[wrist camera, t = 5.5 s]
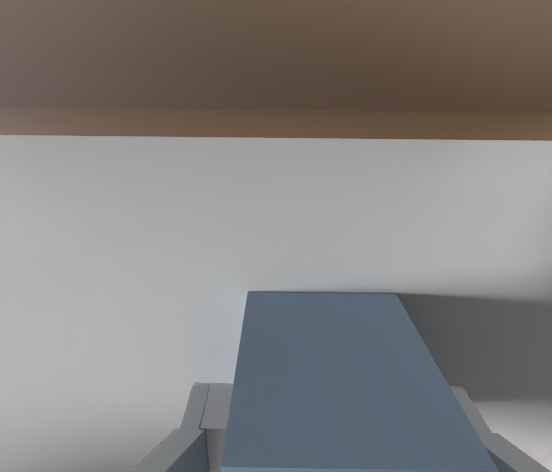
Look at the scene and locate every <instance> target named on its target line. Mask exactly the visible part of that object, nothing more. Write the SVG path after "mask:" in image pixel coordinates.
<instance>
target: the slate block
mask: <svg viewBox="0 0 552 472" xmlns="http://www.w3.org/2000/svg"><path fill="white" fill-rule="evenodd" d="M221 472H498V469H497V467H496V466H495V464H494V462H493V460H492V459H491V457H490V455H489V453H488V452H487V450H486V448H485V447H484V445H483V443H482V441H481V440H480V438H479V436H478V434H477V433H476V431H475V429H474V427H473V426H472V424H471V422H470V421H469V419H468V417H467V415H466V414H465V412H464V410H463V408H462V407H461V405H460V403H459V401H458V400H457V398H456V396H455V395H454V393H453V391H452V389H451V388H450V386H449V384H448V382H447V381H446V379H445V377H444V375H443V374H442V372H441V370H440V369H439V367H438V365H437V363H436V362H435V360H434V358H433V356H432V355H431V353H430V351H429V349H428V348H427V346H426V344H425V343H424V341H423V339H422V337H421V336H420V334H419V332H418V330H417V329H416V327H415V325H414V323H413V322H412V320H411V318H410V317H409V315H408V313H407V311H406V310H405V308H404V306H403V304H402V303H401V301H400V299H399V297H398V296H397V294H396V293H308V292H248V294H247V300H246V307H245V313H244V320H243V326H242V333H241V339H240V346H239V352H238V359H237V365H236V372H235V378H234V385H233V391H232V398H231V404H230V411H229V417H228V424H227V430H226V437H225V443H224V450H223V456H222V463H221Z"/></svg>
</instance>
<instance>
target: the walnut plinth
mask: <svg viewBox="0 0 552 472" xmlns="http://www.w3.org/2000/svg"><path fill="white" fill-rule="evenodd" d="M0 135H74V136H169V137H264V138H360V139H455V140H550V141H552V0H0Z"/></svg>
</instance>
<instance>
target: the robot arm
mask: <svg viewBox="0 0 552 472" xmlns="http://www.w3.org/2000/svg"><path fill="white" fill-rule="evenodd" d="M233 385H234V384H226V383H194V385H193V387H192V390H191V393H190V396H189V400H188V403H187V407H186V410H185V413H184V417H183V420H182V424H181V427H180V429H175V430H173V431H172V432H171V433H170V434H169V435H168V436H167V437H166V438H165V439H164V440H163V441H162V442H161V443H160V444H159V445H158V446H157V447H156V448H155V449H153V450H152V451H151V452H150V453H149V454H148V455H147V456H146V457H145V458H144V459H143V460H142V461H141V462H140V463H139V464H138V465H137V466H136V467H135V468H134V469H132V470H131V471H130V472H221V463H222V456H223V450H224V443H225V437H226V430H227V424H228V417H229V411H230V404H231V398H232V391H233ZM450 388H451V389H452V391H453V393H454V395H455V396H456V398H457V400H458V401H459V403H460V405H461V407H462V408H463V410H464V412H465V414H466V415H467V417H468V419H469V421H470V422H471V424H472V426H473V427H474V429H475V431H476V433H477V434H478V436H479V438H480V440H481V441H482V443H483V445H484V447H485V448H486V450H487V452H488V453H489V455H490V457H491V459H492V460H493V462H494V464H495V466H496V467H497V469H498V472H551V471H549V470H548V469H546V468H545V467H544V466H542V465H541V464H540V463H538V462H537V461H535V460H534V459H533V458H531V457H530V456H528V455H527V454H526V453H524V452H523V451H521V450H520V449H519V448H517V447H516V446H514V445H513V444H512V443H510V442H509V441H508V440H506V439H505V438H503V437H502V436H501V435H499V434H498V433H492V432H491V430H490V429H489V427H488V426H487V424H486V422H485V421H484V419H483V418H482V416H481V415H480V413H479V411H478V410H477V408H476V407H475V405H474V403H473V402H472V400H471V399H470V397H469V396H468V394H467V392H466V391H465V389H464V388H463V387H461V386H450Z"/></svg>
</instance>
